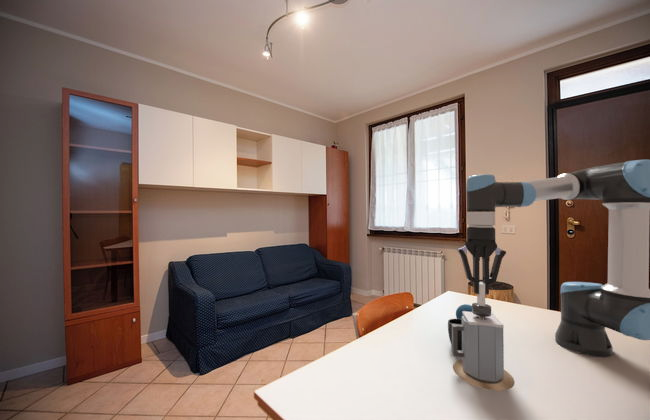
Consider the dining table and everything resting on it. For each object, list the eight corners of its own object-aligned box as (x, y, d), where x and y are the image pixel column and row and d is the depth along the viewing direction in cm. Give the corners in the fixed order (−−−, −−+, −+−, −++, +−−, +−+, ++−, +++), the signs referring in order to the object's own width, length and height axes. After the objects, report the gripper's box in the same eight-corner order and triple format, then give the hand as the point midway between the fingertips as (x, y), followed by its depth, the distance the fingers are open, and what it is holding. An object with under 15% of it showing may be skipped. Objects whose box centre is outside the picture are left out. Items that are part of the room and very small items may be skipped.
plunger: (492, 341, 84) (491, 302, 84) (500, 353, 77) (500, 311, 77) (465, 338, 86) (464, 300, 87) (470, 350, 79) (470, 308, 79)
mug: (489, 353, 94) (488, 325, 94) (458, 356, 92) (458, 328, 92) (471, 342, 102) (471, 316, 102) (443, 345, 100) (443, 319, 100)
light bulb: (480, 333, 109) (480, 303, 109) (479, 342, 102) (478, 310, 102) (457, 329, 114) (457, 300, 114) (454, 336, 107) (454, 306, 107)
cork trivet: (502, 364, 87) (502, 362, 87) (524, 397, 72) (524, 395, 72) (448, 357, 92) (448, 355, 92) (458, 386, 76) (458, 384, 76)
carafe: (495, 366, 85) (495, 313, 85) (507, 386, 75) (507, 326, 76) (449, 360, 89) (449, 309, 89) (455, 378, 79) (455, 321, 79)
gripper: (500, 226, 84) (501, 302, 84) (454, 225, 87) (455, 299, 87) (510, 227, 77) (510, 311, 76) (459, 226, 80) (459, 306, 80)
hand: (481, 304), depth 82 cm, fingers closed
